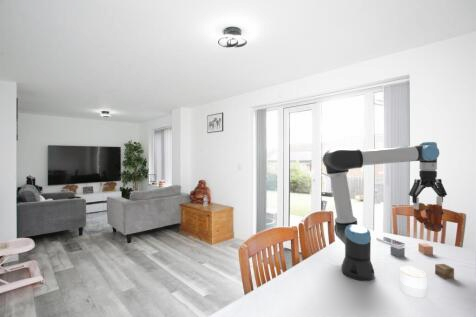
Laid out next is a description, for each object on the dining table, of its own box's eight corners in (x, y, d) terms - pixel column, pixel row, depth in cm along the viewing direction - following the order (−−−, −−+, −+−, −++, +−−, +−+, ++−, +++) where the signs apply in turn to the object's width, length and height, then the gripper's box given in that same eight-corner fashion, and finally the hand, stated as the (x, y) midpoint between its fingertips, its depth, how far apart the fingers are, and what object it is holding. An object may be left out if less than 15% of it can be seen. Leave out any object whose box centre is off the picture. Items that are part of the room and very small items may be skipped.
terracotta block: (424, 254, 143) (424, 246, 143) (418, 251, 148) (418, 243, 148) (432, 254, 142) (432, 246, 142) (427, 251, 147) (427, 243, 147)
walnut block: (444, 279, 115) (444, 269, 115) (435, 274, 120) (435, 264, 120) (453, 278, 116) (454, 268, 116) (444, 273, 121) (444, 263, 121)
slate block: (398, 257, 140) (398, 249, 139) (390, 254, 144) (390, 246, 144) (404, 256, 141) (404, 247, 141) (396, 252, 146) (396, 244, 146)
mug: (436, 228, 134) (438, 202, 134) (448, 233, 126) (449, 205, 126) (409, 227, 136) (410, 201, 135) (418, 231, 127) (419, 204, 127)
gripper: (412, 171, 125) (411, 210, 126) (455, 170, 127) (455, 209, 128) (401, 170, 133) (401, 207, 133) (442, 169, 135) (442, 206, 135)
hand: (427, 208), depth 131 cm, fingers closed on mug, 13 cm apart
